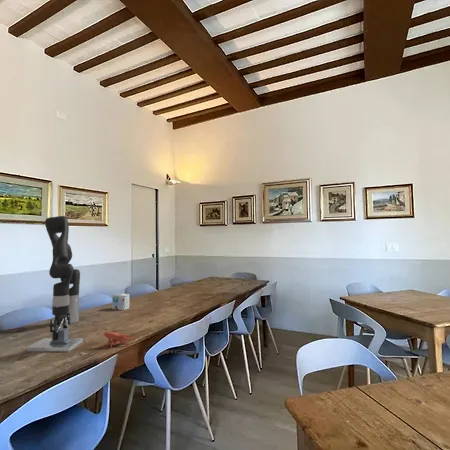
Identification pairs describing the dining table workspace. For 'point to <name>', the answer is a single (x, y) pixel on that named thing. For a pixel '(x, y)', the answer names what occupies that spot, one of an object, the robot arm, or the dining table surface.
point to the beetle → (117, 338)
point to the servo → (61, 337)
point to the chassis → (46, 346)
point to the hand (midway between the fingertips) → (60, 337)
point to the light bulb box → (120, 301)
